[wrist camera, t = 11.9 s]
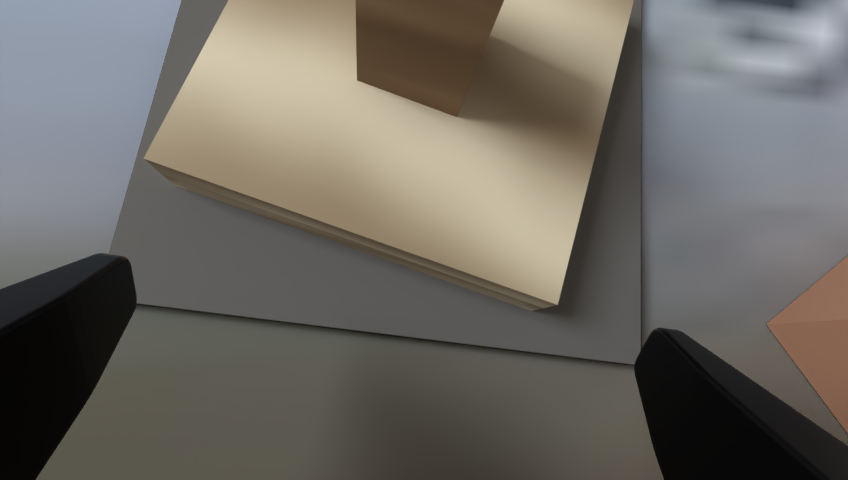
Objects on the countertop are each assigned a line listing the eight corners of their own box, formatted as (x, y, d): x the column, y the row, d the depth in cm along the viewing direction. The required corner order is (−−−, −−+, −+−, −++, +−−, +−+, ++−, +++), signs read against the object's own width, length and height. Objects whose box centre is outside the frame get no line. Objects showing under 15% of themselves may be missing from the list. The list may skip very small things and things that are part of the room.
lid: (530, 310, 14) (730, 266, 7) (173, 185, 14) (-66, -25, 6) (608, 18, 17) (809, -251, 10) (316, -95, 17) (277, -478, 9)
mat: (629, 364, 15) (640, 365, 14) (107, 300, 13) (96, 298, 13) (633, -42, 19) (641, -54, 18) (228, -129, 17) (223, -145, 17)
